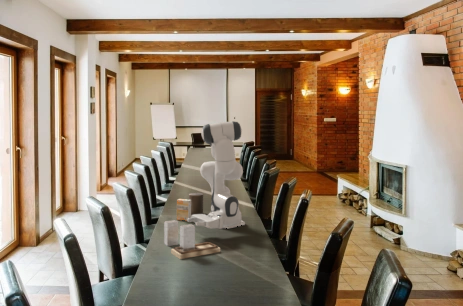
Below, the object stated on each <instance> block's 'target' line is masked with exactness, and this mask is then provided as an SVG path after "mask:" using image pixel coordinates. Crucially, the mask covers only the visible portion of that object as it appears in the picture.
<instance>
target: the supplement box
mask: <svg viewBox="0 0 463 306" xmlns="http://www.w3.org/2000/svg"><path fill="white" fill-rule="evenodd" d="M188 218H192V215H191V200H189V199H186V198H185V199H184V198H178V199H176V221H182V220H185V222H187V219H188Z"/></svg>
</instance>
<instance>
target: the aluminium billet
mask: <svg viewBox="0 0 463 306" xmlns="http://www.w3.org/2000/svg"><path fill="white" fill-rule="evenodd" d="M163 234H164V237H163V241H164V242H163V245H165V246H166V247H171V246H177V245H179V220H177V219H173V220H166V221H164V225H163Z"/></svg>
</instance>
